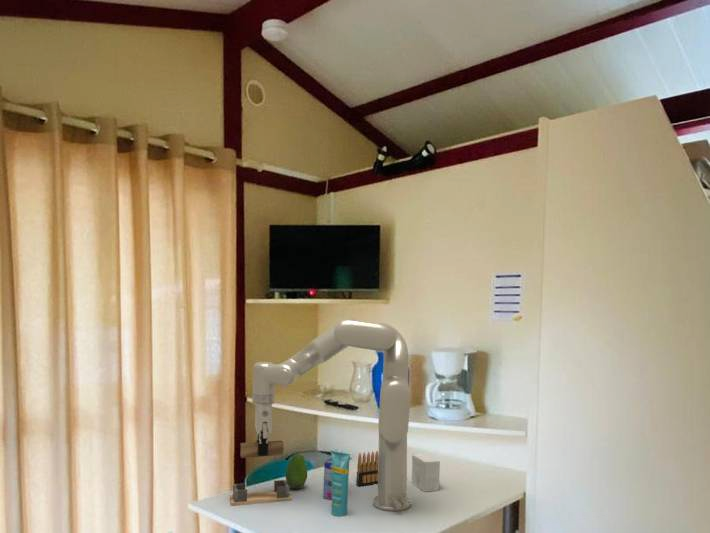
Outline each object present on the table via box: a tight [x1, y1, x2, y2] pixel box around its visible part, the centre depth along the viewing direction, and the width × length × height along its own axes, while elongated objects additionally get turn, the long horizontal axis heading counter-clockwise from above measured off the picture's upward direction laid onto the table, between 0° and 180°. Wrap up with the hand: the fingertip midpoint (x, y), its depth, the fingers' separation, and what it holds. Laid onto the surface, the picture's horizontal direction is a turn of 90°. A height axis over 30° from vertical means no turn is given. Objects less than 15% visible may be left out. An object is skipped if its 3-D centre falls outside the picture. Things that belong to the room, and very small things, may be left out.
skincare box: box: [411, 453, 441, 493], centre depth 198 cm, size 10×6×10 cm, turn 20°
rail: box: [229, 479, 293, 507], centre depth 183 cm, size 7×20×4 cm, turn 107°
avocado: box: [285, 453, 308, 490], centre depth 194 cm, size 8×8×12 cm
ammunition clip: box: [355, 450, 379, 488], centre depth 199 cm, size 11×2×12 cm, turn 116°
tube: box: [330, 450, 351, 517], centre depth 173 cm, size 7×5×19 cm, turn 62°
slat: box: [239, 440, 284, 459], centre depth 184 cm, size 4×14×4 cm, turn 107°
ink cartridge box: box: [322, 451, 343, 500], centre depth 188 cm, size 10×6×14 cm, turn 160°
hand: (262, 453), depth 184 cm, fingers closed on slat, 3 cm apart
